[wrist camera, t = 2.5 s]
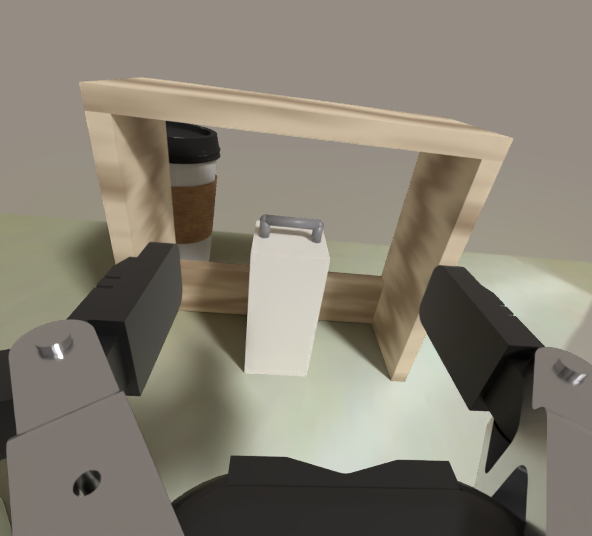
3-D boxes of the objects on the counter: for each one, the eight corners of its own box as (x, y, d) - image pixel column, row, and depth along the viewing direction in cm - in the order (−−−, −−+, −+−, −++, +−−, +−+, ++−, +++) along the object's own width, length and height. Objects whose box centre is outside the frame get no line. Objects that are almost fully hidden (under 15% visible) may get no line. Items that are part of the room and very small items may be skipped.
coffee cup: (168, 237, 43) (157, 113, 35) (230, 248, 42) (232, 125, 34) (131, 269, 36) (106, 122, 28) (204, 283, 35) (199, 138, 27)
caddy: (306, 376, 26) (334, 238, 20) (244, 373, 26) (252, 230, 19) (303, 333, 30) (325, 207, 24) (249, 329, 30) (257, 200, 23)
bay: (405, 381, 27) (513, 138, 17) (136, 366, 25) (78, 82, 15) (380, 316, 34) (446, 117, 24) (168, 301, 32) (143, 77, 22)
